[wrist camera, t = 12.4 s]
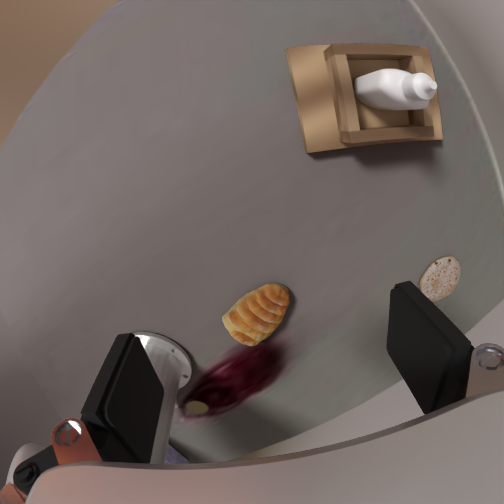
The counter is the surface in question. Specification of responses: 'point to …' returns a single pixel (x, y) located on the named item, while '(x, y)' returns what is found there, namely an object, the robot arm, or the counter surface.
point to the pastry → (257, 313)
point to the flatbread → (440, 278)
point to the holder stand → (349, 107)
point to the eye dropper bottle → (394, 90)
